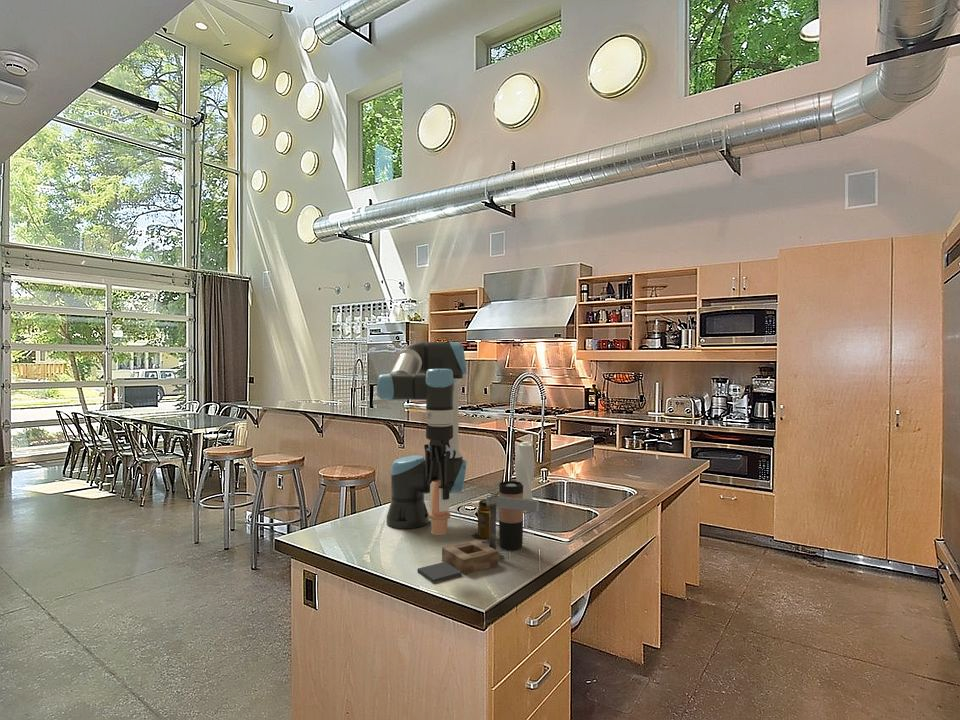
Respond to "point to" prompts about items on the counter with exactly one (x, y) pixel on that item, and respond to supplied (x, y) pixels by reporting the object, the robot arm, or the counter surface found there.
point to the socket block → (474, 551)
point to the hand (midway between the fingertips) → (439, 508)
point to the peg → (438, 512)
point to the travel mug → (510, 518)
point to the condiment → (482, 523)
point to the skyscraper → (525, 468)
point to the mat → (439, 572)
